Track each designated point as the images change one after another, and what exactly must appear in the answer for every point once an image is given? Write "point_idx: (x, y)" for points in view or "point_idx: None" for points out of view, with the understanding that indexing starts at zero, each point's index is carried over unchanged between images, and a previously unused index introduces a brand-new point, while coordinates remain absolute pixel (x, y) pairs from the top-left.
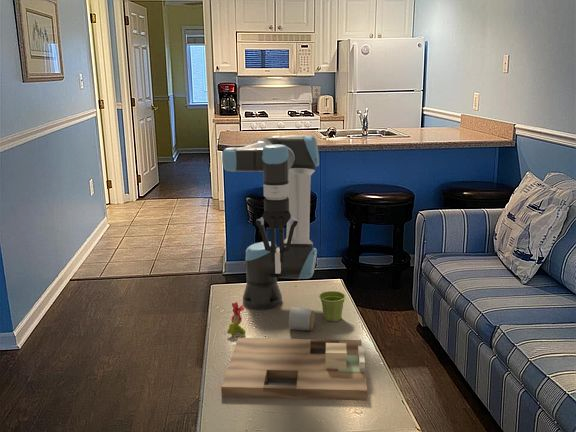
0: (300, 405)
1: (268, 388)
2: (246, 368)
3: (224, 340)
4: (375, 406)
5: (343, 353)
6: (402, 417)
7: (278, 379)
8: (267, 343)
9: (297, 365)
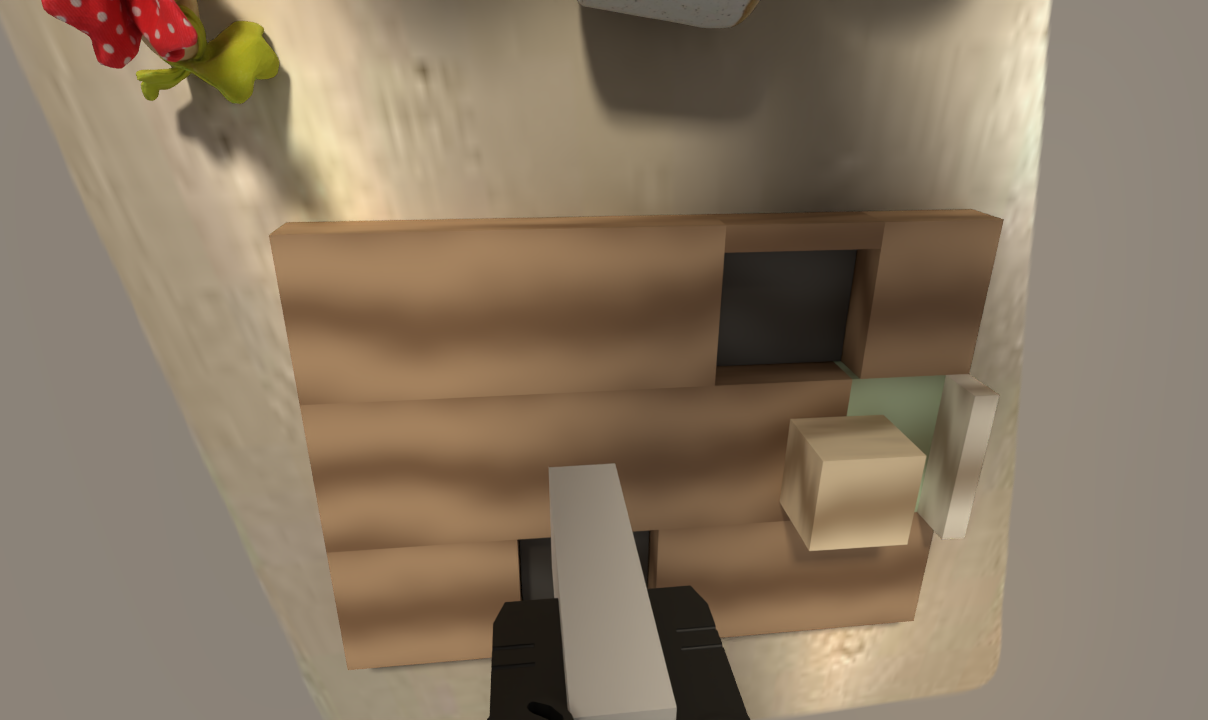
0: None
1: None
2: (418, 539)
3: (163, 146)
4: None
5: (891, 543)
6: (977, 654)
7: None
8: (474, 294)
9: (654, 493)
